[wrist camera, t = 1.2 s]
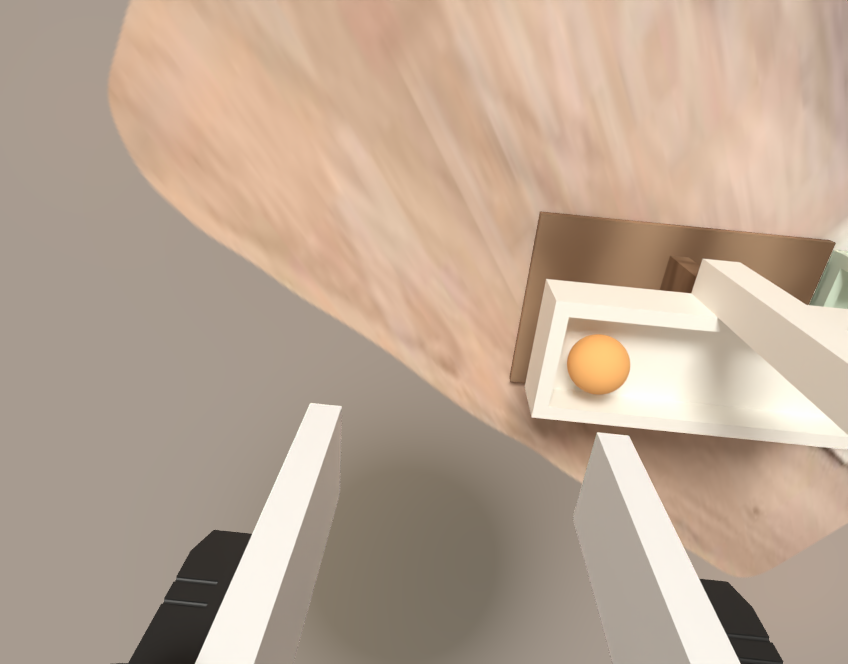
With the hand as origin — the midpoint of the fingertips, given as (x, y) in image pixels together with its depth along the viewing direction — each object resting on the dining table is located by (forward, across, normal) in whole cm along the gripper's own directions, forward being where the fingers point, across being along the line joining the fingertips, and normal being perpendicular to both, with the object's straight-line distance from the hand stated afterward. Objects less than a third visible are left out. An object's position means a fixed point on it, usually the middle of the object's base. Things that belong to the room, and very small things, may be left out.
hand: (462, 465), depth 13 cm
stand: (+23, +14, -4) cm, 27 cm away
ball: (+15, +8, -4) cm, 17 cm away
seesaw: (+17, +14, -3) cm, 23 cm away
